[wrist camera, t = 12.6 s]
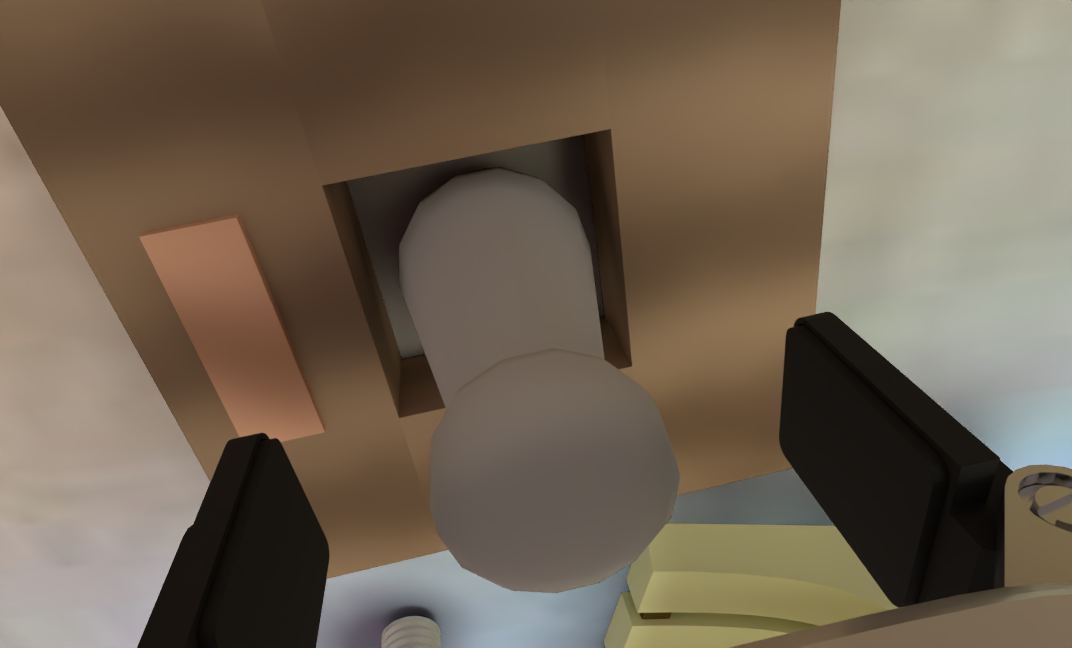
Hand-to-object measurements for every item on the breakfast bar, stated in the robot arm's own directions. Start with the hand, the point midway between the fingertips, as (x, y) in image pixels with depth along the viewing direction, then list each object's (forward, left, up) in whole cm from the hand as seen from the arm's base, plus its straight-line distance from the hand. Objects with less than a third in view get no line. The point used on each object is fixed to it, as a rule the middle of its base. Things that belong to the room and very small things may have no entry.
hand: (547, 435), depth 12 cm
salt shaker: (0, 0, -11) cm, 11 cm away
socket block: (0, 0, -11) cm, 11 cm away
